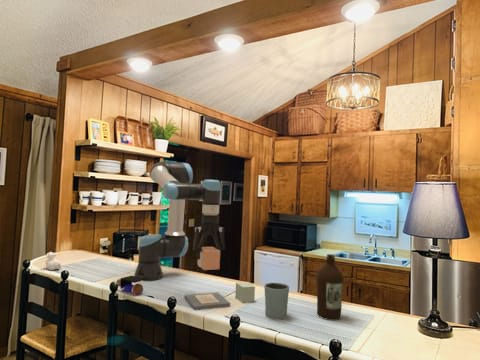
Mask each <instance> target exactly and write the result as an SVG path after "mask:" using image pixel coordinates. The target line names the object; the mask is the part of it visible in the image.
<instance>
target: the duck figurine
mask: <svg viewBox="0 0 480 360" xmlns="http://www.w3.org/2000/svg"><path fill="white" fill-rule="evenodd" d="M45 255H46V258H47V259H46V261H45V267H46V269H47V270H48V269H49V271H54V270H55V269H60V270H61V268H62V264H61V261H59V260H58V259H57V258H56V257H57V254H56V253H54V252H52V251H49V252H47V253H46V254H45ZM55 271H56V270H55Z"/></svg>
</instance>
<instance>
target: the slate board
mask: <svg viewBox="0 0 480 360" xmlns="http://www.w3.org/2000/svg"><path fill="white" fill-rule="evenodd" d="M184 300H185V301H186V302H187V303H188V306H190V307H191V309H192V310H193V311H200V310H210V309H218V308H229V307H231V302H229V301H228V300H227V299H226V298H225V297H224V296H223V295H221V294H220V293H219V292H206V293H192V294H184Z"/></svg>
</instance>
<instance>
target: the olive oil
mask: <svg viewBox="0 0 480 360" xmlns="http://www.w3.org/2000/svg"><path fill="white" fill-rule="evenodd" d="M335 256H336V255H335V254H332V253H328V254H326V263H325V264H324V265H323V266H322V267H321V268H320V269H319V270H318V272H317V275H316V297H317V298H316V299H317V301H316V314H318V315H319V316H321V317H323V318H322V319H324V318H327V319H326V320H328V319H337V320H340V319H341V318H342V306H343V305H342V301H343V290H344V274H343V272H341V270H340V269H339V268H338V267H337V266H336V264H335V263H336V257H335ZM318 315H317V316H318ZM319 316H318V317H319ZM321 317H320V318H321ZM340 317H341V318H340ZM339 318H340V319H339Z"/></svg>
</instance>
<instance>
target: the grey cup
mask: <svg viewBox="0 0 480 360" xmlns="http://www.w3.org/2000/svg"><path fill="white" fill-rule="evenodd" d="M289 294H290V286H289V285H288V284H285V283H282V282H280V283H279V282H267V283H265V284H264V303H265V309H264V312H265V317H267V318H268V317H269V319H271V318H274V319H273V320H278V319H279V320H284V319H286V318H287V315H288V302H289ZM285 317H286V318H285ZM283 318H284V319H283Z"/></svg>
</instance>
